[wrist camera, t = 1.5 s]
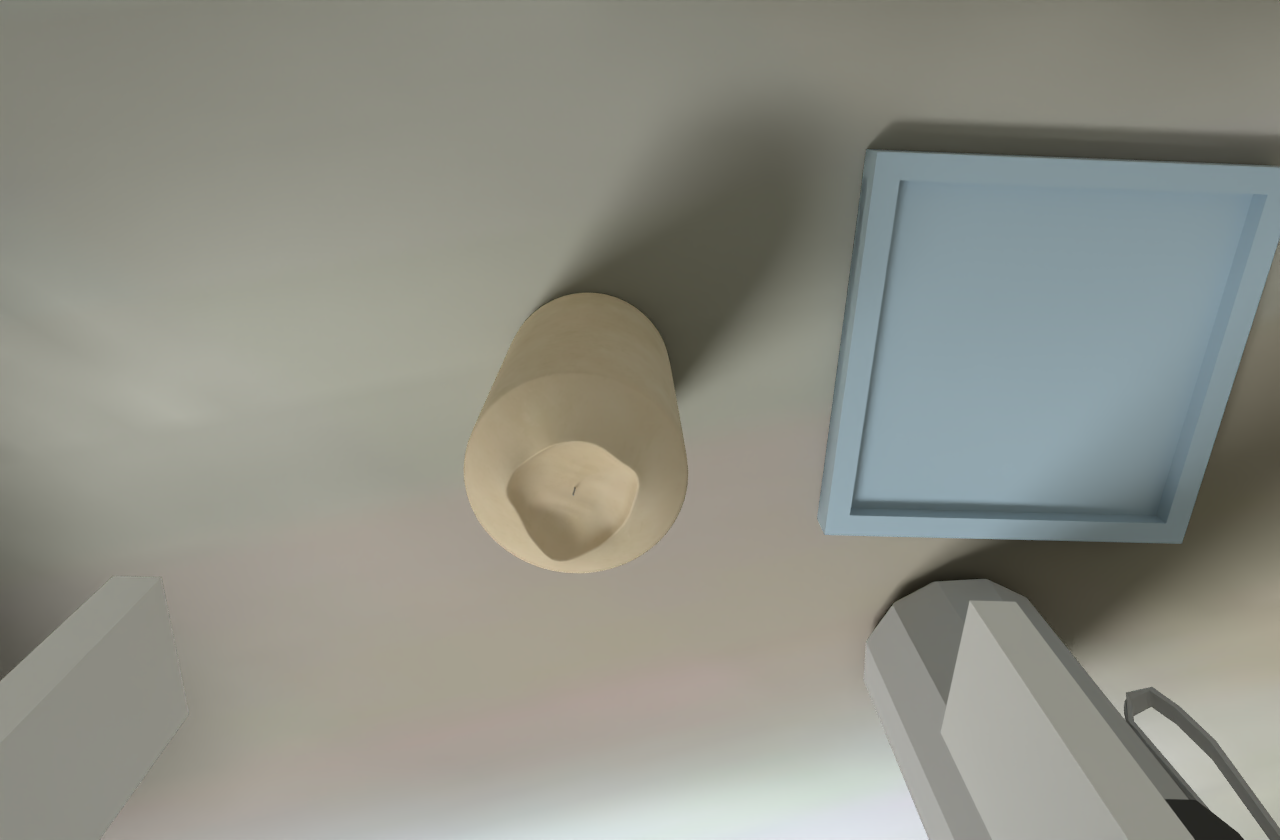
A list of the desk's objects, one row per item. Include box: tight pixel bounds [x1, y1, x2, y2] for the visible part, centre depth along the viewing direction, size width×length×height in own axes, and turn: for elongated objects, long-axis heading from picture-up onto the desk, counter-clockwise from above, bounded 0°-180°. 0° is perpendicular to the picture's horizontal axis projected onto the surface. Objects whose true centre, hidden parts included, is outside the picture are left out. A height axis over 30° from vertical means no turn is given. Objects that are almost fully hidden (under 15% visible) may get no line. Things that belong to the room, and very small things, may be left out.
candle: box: [464, 292, 688, 573], centre depth 24 cm, size 6×6×10 cm
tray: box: [817, 149, 1280, 544], centre depth 28 cm, size 13×13×1 cm
